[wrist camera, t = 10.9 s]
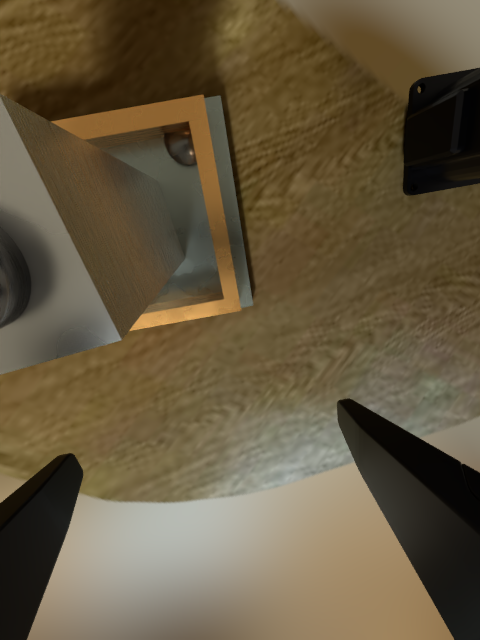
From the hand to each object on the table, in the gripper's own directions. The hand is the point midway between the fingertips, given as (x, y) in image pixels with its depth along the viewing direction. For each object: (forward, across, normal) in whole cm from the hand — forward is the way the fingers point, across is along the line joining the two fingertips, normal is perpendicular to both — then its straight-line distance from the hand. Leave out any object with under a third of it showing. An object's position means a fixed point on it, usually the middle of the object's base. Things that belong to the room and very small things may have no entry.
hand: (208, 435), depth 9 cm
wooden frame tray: (+13, +4, -7) cm, 15 cm away
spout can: (+12, +4, -7) cm, 14 cm away
